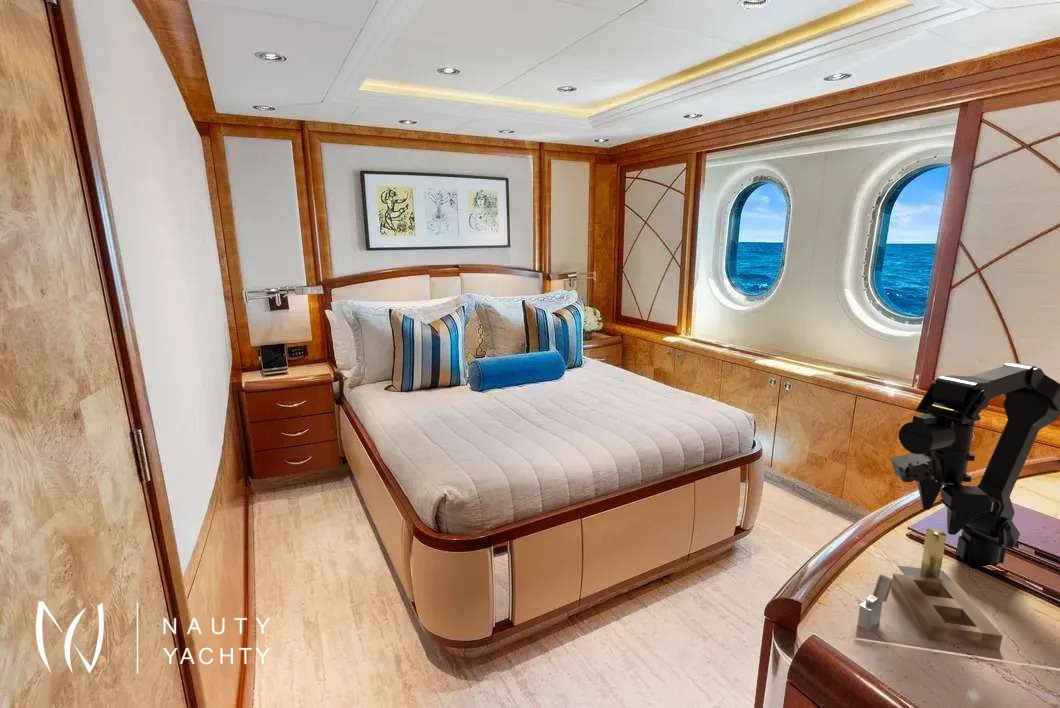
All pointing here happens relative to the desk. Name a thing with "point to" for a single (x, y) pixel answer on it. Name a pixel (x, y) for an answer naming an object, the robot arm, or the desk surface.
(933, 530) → the peg
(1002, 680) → the desk surface
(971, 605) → the hole block
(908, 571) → the mat
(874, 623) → the lighter
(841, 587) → the desk surface
